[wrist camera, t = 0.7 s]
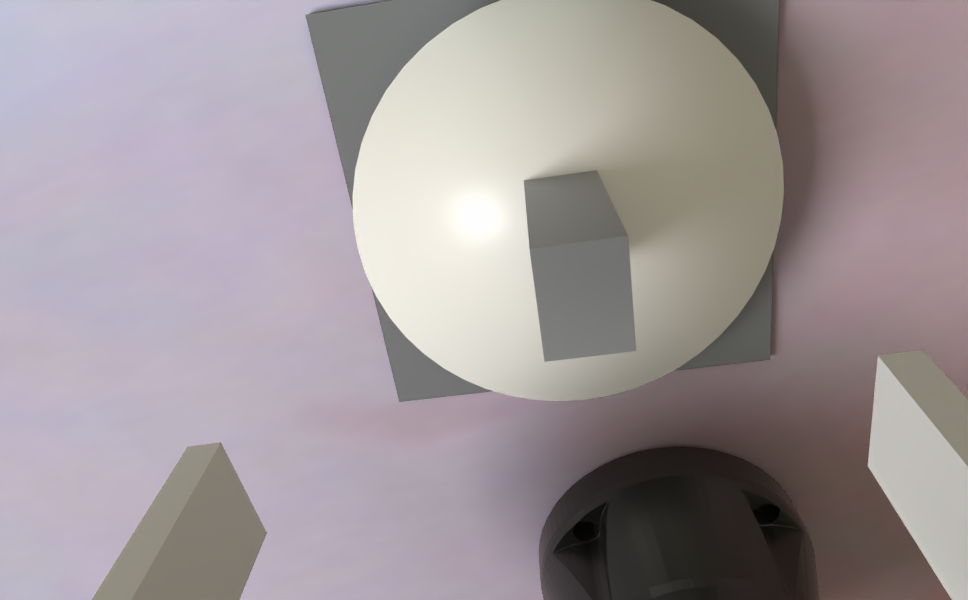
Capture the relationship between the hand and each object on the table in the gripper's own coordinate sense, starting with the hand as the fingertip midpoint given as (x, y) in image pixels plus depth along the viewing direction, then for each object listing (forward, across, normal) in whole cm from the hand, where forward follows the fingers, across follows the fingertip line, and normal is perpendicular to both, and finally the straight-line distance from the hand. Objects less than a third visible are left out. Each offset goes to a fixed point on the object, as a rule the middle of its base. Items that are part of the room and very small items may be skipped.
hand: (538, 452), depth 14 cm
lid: (+19, -1, +2) cm, 19 cm away
